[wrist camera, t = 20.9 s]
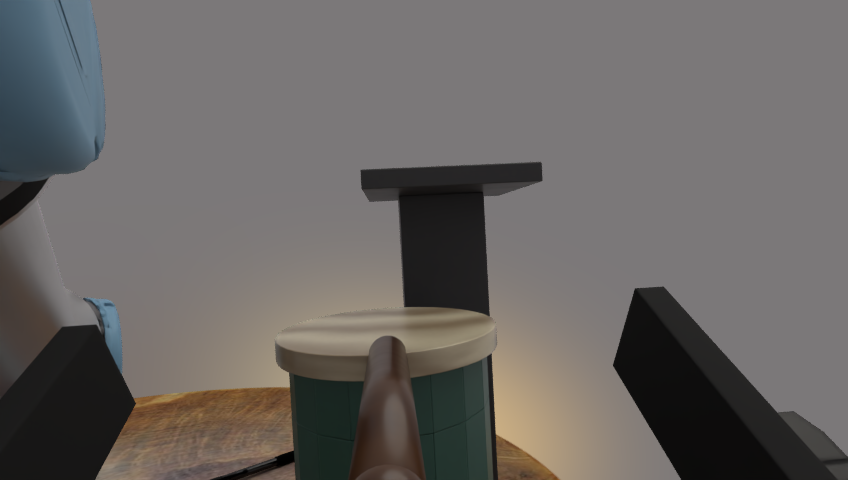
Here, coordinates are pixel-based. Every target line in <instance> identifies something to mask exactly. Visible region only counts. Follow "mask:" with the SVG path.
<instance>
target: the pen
mask: <svg viewBox="0 0 848 480" xmlns="http://www.w3.org/2000/svg"><path fill="white" fill-rule="evenodd" d="M291 461H294V451H291V452H288V453H285V454H282V455H279V456H277V457H275V458H273V459H270V460H267V461H264V462H262V463H259V464H256V465H253V466H250V467H247V468H244V469H241V470H238V471H235V472H232V473H229V474H227V475H224V476H220V477H216V478H213V479H211V480H238V479H241V478H243V477H246V476H249V475H252V474H255V473H257V472H260V471H263V470H266V469H269V468H272V467H274V466H279V465H283V464H286V463H289V462H291Z"/></svg>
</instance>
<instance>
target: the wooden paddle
mask: <svg viewBox="0 0 848 480" xmlns="http://www.w3.org/2000/svg"><path fill="white" fill-rule="evenodd" d="M496 346H497V335H496V322H495V321H494V320H493V319H492V318H491V317H489V316H487V315H485V314H482V313H478V312H474V311H469V310H462V309H453V308H439V307H400V308H383V309H372V310H362V311H354V312H347V313H341V314H335V315H330V316H325V317H320V318H316V319H312V320H308V321H305V322H302V323H298V324H296V325H293V326H291V327H288V328H286V329H284V330H283V331H282V332H280V333H278V335H277V336H276V338H275V349H276V350H275V351H276V362H277V364H278V366H280V367H281V368H282V369H283V370H285V371H287V372H289V373H292V374H295V375H298V376H303V377H307V378H313V379H320V380H330V381H352V382H356V381H364V385H363V391H362V397H361V403H360V409H359V416H358V422H357V428H356V434H355V440H354V447H353V453H352V459H351V465H350V471H349V478H348V480H426V475H425V468H424V462H423V455H422V449H421V442H420V436H419V429H418V423H417V417H416V410H415V404H414V397H413V391H412V384H411V378H413V377H420V376H427V375H432V374H437V373H442V372H446V371H450V370H454V369H458V368H461V367H464V366H467V365H470V364H472V363H475V362H477V361H480V360H481V359H483V358H485V357H487V356H488V355H490V354H491V353H492V352H493V351H494V350H495V348H496Z"/></svg>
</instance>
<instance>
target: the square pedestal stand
mask: <svg viewBox="0 0 848 480" xmlns="http://www.w3.org/2000/svg"><path fill="white" fill-rule="evenodd" d="M540 181H542V163H541V162H529V163H507V164H484V165H483V164H482V165H461V166H460V165H459V166H436V167H415V168H414V167H412V168H390V169H366V170H361V185H362V190H363V191H364V193H365V195H366V196H367V198H368V200H369V201H370V202H374V201H394V200H398V206H399V223H400V242H401V259H402V276H403V277H402V278H403V297H404V307H439V308H453V309H462V310H469V311H474V312H478V313H482V314H485V315H487V316H489V317H490V314H489V296H488V295H489V294H488V274H487V254H486V235H485V216H484V196H497V195H502V194H505V193H508V192H510V191H514V190H516V189H520V188H522V187H526V186H529V185H532V184H535V183H538V182H540ZM487 365H488V385H489V406H490V426H491V445H492V465H493V480H498V471H497V451H496V432H495V412H494V393H493V373H492V353H491V354H490V355H488V356H487Z"/></svg>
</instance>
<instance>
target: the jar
mask: <svg viewBox="0 0 848 480" xmlns="http://www.w3.org/2000/svg"><path fill="white" fill-rule="evenodd" d="M289 376H290V393H291V410H292V426H293V443H294V460H295V476H296V480H348V478H349V471H350V465H351V459H352V453H353V447H354V440H355V434H356V428H357V422H358V416H359V409H360V403H361V397H362V391H363V385H364V381H356V382H352V381H330V380H320V379H313V378H307V377H303V376H298V375H295V374H292V373H289ZM411 384H412V391H413V397H414V404H415V410H416V417H417V423H418V429H419V436H420V442H421V449H422V455H423V462H424V468H425V475H426V480H493V465H492V445H491V426H490V406H489V385H488V365H487V357H485V358H483V359H481V360H480V361H477V362H475V363H472V364H470V365H467V366H464V367H461V368H458V369H454V370H450V371H446V372H442V373H437V374H432V375H427V376H420V377H413V378H411Z"/></svg>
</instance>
